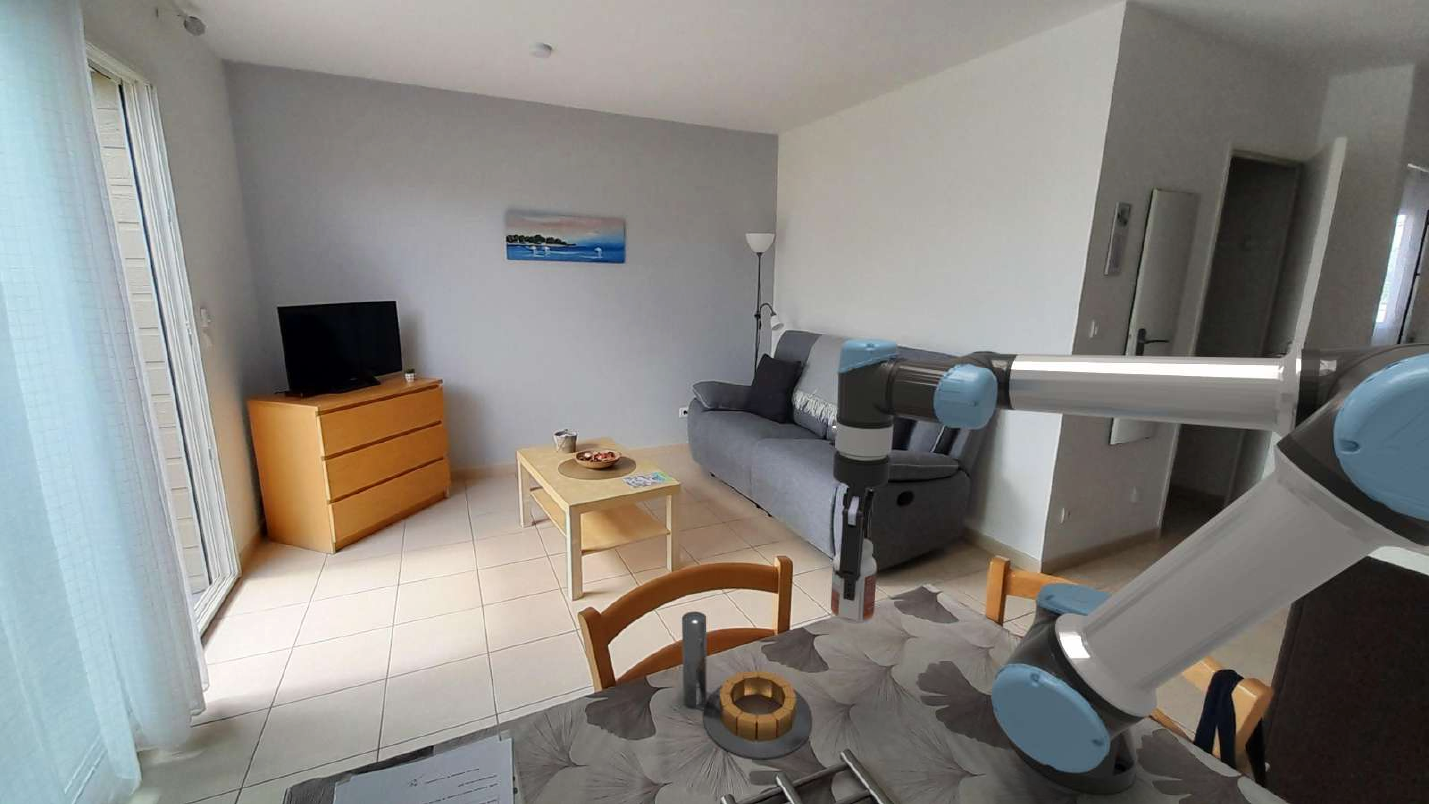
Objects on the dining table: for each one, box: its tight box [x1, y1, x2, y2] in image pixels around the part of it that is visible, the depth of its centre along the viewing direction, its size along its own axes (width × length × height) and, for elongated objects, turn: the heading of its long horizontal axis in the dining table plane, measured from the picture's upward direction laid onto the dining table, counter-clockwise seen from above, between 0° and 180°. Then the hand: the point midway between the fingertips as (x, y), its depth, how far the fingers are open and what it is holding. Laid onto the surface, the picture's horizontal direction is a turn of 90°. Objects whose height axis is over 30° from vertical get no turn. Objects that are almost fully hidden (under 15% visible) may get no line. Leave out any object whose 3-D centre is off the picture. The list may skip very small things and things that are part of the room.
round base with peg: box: [681, 611, 813, 760], centre depth 87 cm, size 20×16×14 cm
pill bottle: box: [830, 538, 878, 625], centre depth 85 cm, size 6×6×11 cm
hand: (852, 604), depth 86 cm, fingers closed on pill bottle, 6 cm apart
